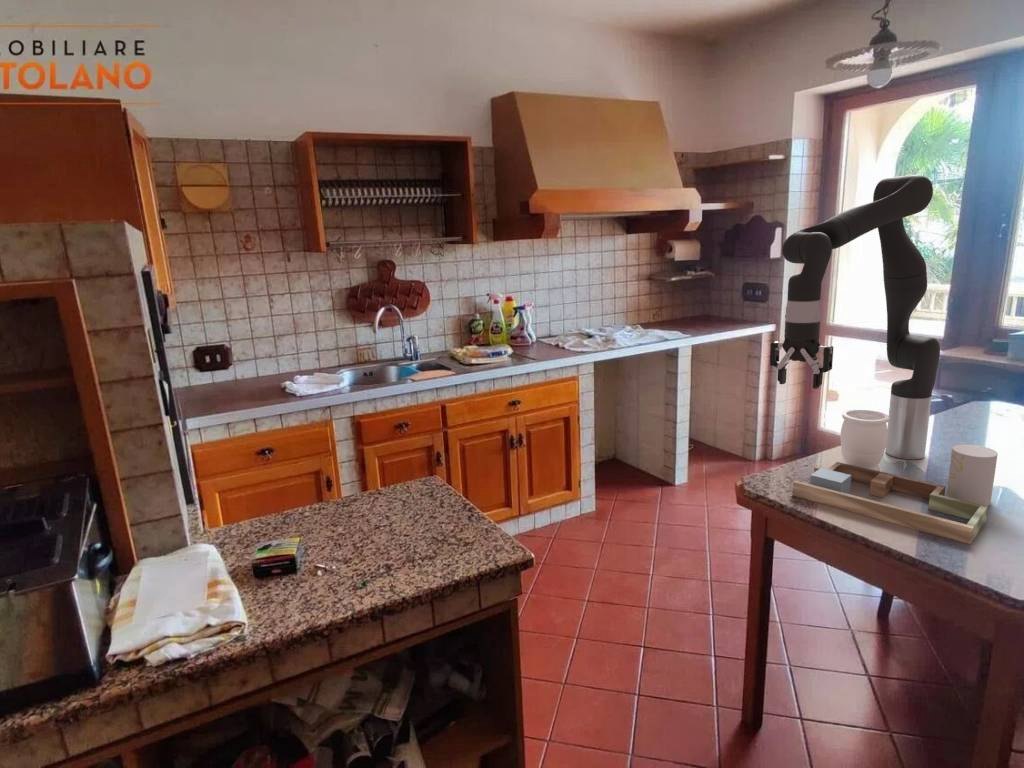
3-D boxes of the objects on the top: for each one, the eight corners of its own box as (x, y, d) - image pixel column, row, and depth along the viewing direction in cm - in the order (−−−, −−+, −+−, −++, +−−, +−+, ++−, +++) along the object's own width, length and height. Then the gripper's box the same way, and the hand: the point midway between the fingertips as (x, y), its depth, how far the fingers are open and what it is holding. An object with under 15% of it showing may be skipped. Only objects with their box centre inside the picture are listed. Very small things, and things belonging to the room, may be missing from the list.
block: (819, 486, 148) (821, 467, 147) (849, 494, 143) (851, 475, 142) (809, 494, 145) (810, 475, 143) (840, 502, 140) (841, 482, 138)
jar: (877, 462, 160) (882, 409, 157) (890, 477, 151) (895, 421, 147) (834, 460, 163) (837, 408, 159) (843, 475, 153) (847, 420, 150)
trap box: (825, 471, 156) (825, 459, 155) (992, 511, 130) (994, 496, 130) (792, 495, 144) (793, 482, 143) (970, 544, 118) (972, 528, 117)
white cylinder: (947, 489, 142) (953, 442, 139) (991, 496, 137) (998, 448, 134) (944, 501, 136) (950, 453, 133) (990, 510, 131) (997, 459, 128)
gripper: (841, 318, 137) (836, 386, 141) (779, 315, 148) (776, 378, 152) (828, 323, 132) (823, 393, 136) (765, 319, 143) (762, 385, 147)
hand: (798, 385), depth 144 cm, fingers open, 7 cm apart
